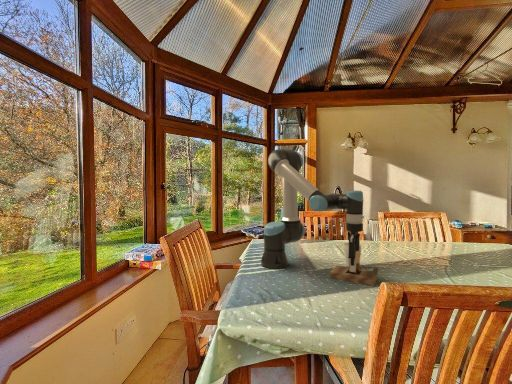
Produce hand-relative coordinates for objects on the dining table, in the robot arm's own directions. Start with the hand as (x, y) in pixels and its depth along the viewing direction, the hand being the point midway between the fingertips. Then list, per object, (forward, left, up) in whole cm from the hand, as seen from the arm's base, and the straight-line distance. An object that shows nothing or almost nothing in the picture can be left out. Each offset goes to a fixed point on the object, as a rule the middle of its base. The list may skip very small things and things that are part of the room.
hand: (354, 270), depth 140 cm
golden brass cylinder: (0, 0, -1) cm, 1 cm away
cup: (-5, +19, -4) cm, 20 cm away
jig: (0, 0, -4) cm, 4 cm away
